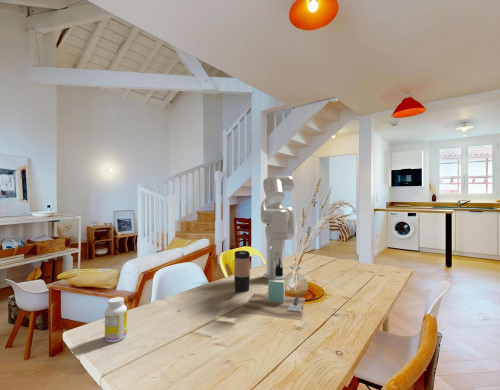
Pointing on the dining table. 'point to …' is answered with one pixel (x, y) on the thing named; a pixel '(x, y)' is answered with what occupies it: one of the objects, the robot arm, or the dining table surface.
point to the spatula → (294, 306)
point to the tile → (276, 291)
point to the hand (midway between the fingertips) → (279, 275)
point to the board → (272, 307)
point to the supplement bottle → (115, 320)
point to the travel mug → (242, 271)
